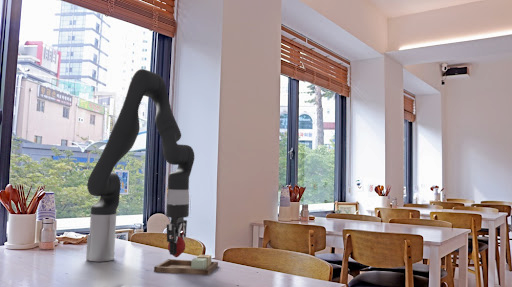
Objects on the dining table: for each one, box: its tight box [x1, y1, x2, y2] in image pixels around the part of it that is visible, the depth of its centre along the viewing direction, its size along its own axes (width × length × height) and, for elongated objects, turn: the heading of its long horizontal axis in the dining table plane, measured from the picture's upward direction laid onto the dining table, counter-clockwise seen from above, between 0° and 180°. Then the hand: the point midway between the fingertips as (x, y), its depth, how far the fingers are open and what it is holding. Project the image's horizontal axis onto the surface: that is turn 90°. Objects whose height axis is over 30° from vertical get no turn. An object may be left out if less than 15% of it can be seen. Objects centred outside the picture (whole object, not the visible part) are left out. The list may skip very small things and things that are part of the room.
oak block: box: [196, 254, 212, 269], centre depth 148 cm, size 4×4×4 cm
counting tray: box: [153, 258, 219, 276], centre depth 146 cm, size 18×13×3 cm
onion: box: [167, 236, 186, 258], centre depth 147 cm, size 6×6×8 cm
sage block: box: [191, 257, 207, 269], centre depth 142 cm, size 4×4×4 cm
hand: (176, 252), depth 147 cm, fingers closed on onion, 6 cm apart
